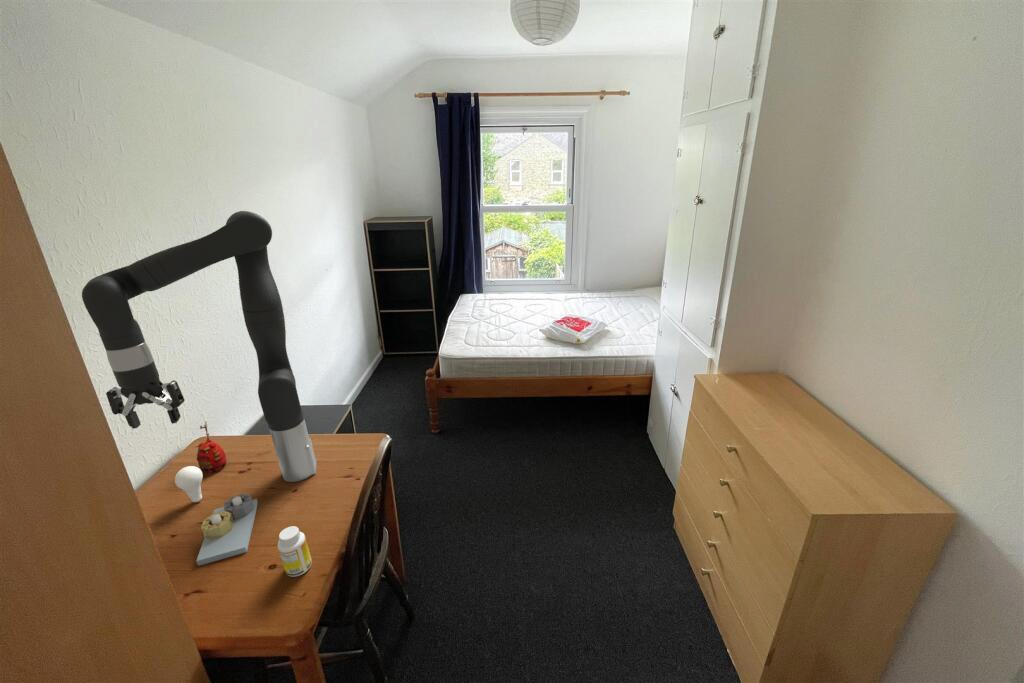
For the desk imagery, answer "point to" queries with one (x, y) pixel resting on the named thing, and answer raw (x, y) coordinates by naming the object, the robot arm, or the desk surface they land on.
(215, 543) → the gear board
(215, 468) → the red clay folk toy
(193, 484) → the lightbulb
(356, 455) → the desk surface
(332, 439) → the desk surface
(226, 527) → the brass gear
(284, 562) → the supplement bottle
